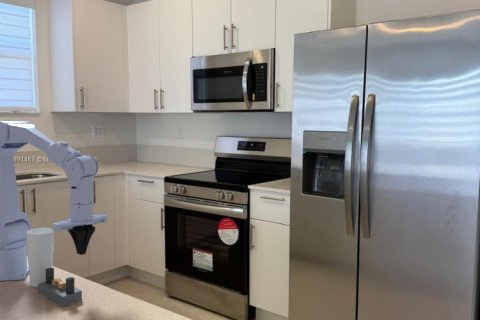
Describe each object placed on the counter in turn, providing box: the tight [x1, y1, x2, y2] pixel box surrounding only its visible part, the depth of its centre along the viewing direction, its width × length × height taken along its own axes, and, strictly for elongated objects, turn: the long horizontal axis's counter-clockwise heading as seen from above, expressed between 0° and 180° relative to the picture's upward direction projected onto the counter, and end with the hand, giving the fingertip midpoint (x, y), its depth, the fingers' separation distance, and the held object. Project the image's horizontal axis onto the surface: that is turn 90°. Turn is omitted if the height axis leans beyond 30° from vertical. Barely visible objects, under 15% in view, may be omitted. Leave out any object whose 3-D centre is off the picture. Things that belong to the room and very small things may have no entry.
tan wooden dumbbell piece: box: [52, 277, 66, 289], centre depth 108 cm, size 4×2×1 cm, turn 53°
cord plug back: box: [46, 267, 55, 284], centre depth 110 cm, size 2×2×4 cm
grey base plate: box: [37, 278, 83, 307], centre depth 108 cm, size 12×5×2 cm, turn 53°
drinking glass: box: [25, 227, 55, 289], centre depth 114 cm, size 7×7×15 cm
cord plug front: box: [65, 276, 76, 294], centre depth 105 cm, size 2×2×4 cm
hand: (81, 253), depth 110 cm, fingers closed
